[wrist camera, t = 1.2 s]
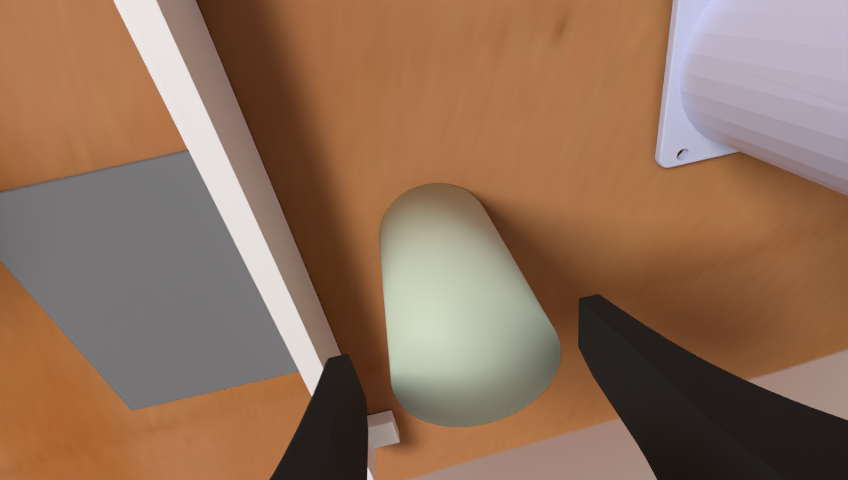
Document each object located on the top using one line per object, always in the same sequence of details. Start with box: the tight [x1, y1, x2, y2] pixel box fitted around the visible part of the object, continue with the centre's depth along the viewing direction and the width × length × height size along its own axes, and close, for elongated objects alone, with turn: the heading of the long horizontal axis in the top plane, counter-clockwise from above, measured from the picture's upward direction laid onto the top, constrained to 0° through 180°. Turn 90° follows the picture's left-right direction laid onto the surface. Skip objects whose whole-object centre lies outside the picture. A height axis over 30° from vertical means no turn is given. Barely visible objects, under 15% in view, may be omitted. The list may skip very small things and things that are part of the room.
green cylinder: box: [379, 183, 561, 427], centre depth 15 cm, size 5×5×8 cm
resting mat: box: [0, 150, 299, 411], centre depth 18 cm, size 9×12×1 cm
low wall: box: [113, 0, 400, 480], centre depth 17 cm, size 4×26×3 cm, turn 11°
